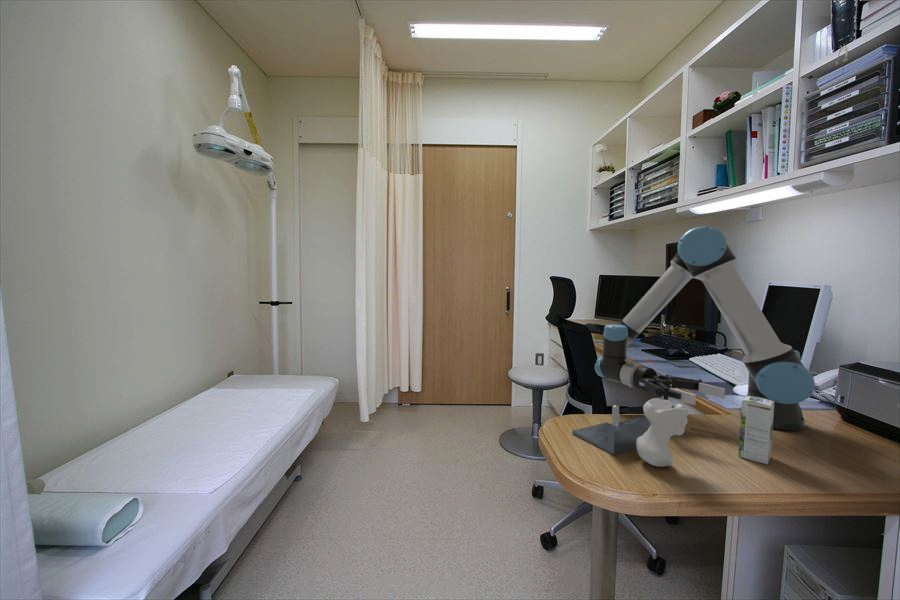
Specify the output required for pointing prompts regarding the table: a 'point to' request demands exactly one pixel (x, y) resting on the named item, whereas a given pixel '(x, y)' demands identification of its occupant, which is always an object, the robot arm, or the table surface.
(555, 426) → the table surface
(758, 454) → the syrup box
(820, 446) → the table surface
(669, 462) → the white sculpture
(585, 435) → the grey piece
